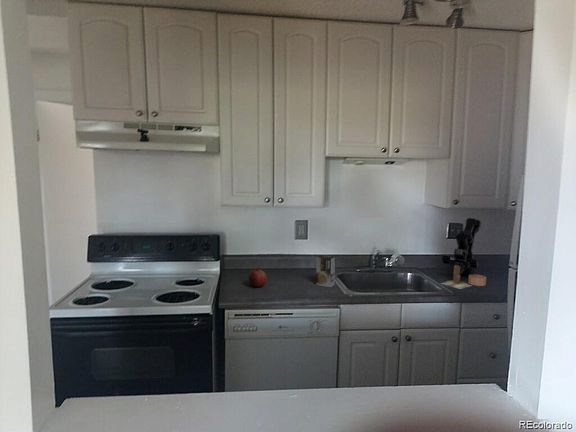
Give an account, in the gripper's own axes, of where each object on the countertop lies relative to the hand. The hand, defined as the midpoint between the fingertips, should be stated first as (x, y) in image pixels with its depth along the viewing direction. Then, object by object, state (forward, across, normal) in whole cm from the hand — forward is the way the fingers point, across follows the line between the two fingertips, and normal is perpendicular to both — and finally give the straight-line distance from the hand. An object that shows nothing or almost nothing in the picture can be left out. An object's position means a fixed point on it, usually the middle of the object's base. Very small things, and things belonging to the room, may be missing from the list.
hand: (456, 273), depth 218 cm
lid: (+4, 0, +6) cm, 7 cm away
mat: (+4, 0, +6) cm, 7 cm away
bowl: (-3, +9, +13) cm, 17 cm away
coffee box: (+38, -59, -28) cm, 75 cm away
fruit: (+56, -86, -46) cm, 113 cm away
